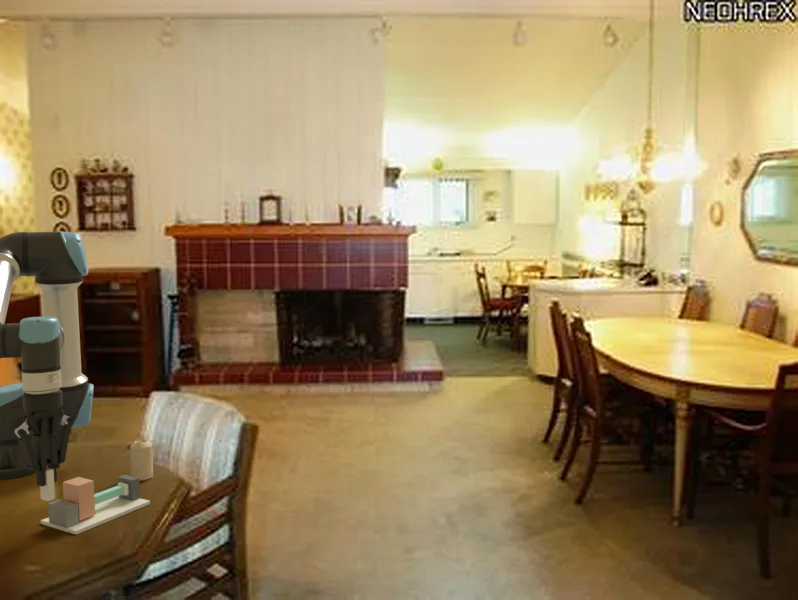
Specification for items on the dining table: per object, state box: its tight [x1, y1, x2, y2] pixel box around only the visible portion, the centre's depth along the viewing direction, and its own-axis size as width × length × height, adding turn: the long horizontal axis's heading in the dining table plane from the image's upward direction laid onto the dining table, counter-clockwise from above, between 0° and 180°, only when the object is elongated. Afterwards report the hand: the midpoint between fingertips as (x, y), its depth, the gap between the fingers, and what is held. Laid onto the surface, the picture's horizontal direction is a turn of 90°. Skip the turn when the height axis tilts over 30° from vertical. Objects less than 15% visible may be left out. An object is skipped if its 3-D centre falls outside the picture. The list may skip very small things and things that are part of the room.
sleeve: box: [62, 476, 95, 521], centre depth 161 cm, size 5×4×8 cm
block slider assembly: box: [40, 474, 151, 535], centre depth 165 cm, size 12×20×6 cm, turn 150°
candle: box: [129, 438, 154, 482], centre depth 190 cm, size 6×6×10 cm
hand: (47, 498), depth 154 cm, fingers closed
